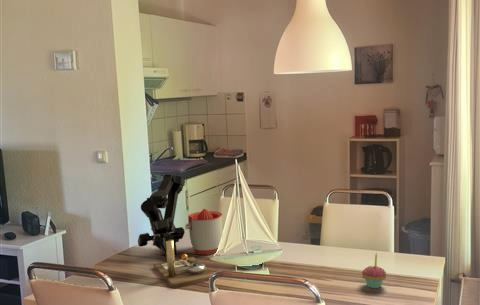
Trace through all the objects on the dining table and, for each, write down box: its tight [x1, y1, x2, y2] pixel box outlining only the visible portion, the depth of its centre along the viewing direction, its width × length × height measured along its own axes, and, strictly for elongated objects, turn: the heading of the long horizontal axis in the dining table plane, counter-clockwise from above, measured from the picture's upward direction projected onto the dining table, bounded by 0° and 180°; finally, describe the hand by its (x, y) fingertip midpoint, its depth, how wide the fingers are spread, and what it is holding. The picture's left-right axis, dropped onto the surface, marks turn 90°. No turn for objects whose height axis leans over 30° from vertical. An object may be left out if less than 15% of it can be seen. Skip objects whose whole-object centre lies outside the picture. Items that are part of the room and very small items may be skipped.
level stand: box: [153, 256, 214, 289], centre depth 197 cm, size 26×18×2 cm
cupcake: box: [361, 252, 387, 289], centre depth 174 cm, size 9×8×12 cm
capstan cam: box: [166, 240, 206, 277], centre depth 197 cm, size 19×15×14 cm
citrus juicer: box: [184, 208, 223, 256], centre depth 222 cm, size 16×17×20 cm
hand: (166, 254), depth 194 cm, fingers closed
